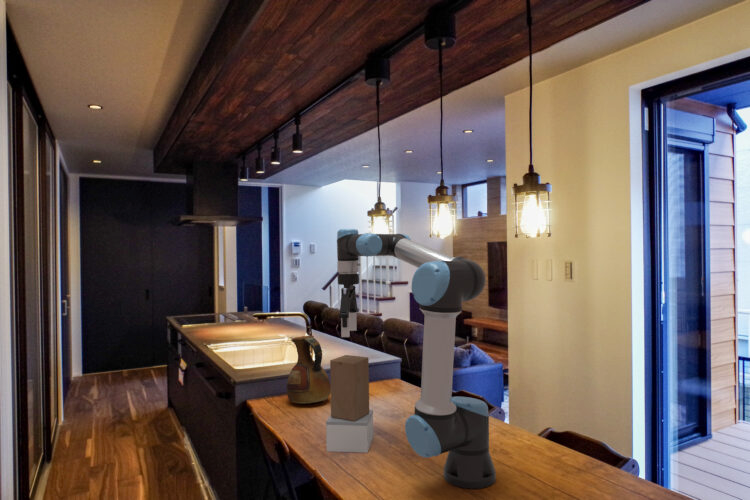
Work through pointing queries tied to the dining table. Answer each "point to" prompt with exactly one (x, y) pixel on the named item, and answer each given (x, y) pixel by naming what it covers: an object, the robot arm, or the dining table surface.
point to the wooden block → (349, 387)
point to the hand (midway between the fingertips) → (349, 333)
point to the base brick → (349, 434)
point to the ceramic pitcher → (308, 374)
